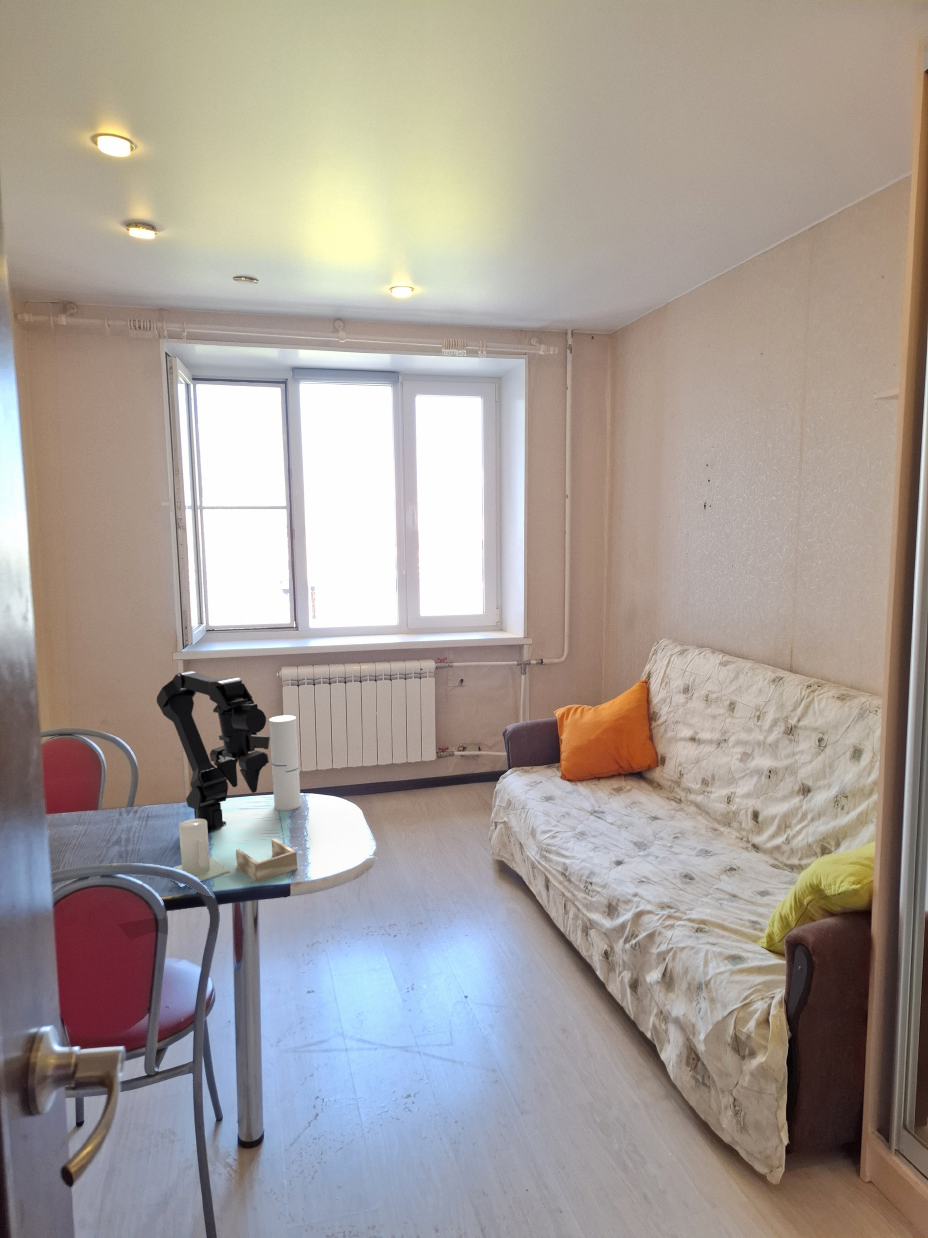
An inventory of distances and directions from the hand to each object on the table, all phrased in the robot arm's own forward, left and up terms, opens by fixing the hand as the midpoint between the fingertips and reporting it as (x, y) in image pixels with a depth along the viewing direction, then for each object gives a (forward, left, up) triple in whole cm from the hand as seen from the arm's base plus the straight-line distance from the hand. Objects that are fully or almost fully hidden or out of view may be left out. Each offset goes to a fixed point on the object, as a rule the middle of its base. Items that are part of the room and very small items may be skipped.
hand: (244, 789), depth 190 cm
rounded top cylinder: (+2, -20, -12) cm, 24 cm away
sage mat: (+2, -20, -12) cm, 24 cm away
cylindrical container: (-5, +22, -13) cm, 26 cm away
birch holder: (+15, -12, -12) cm, 23 cm away
